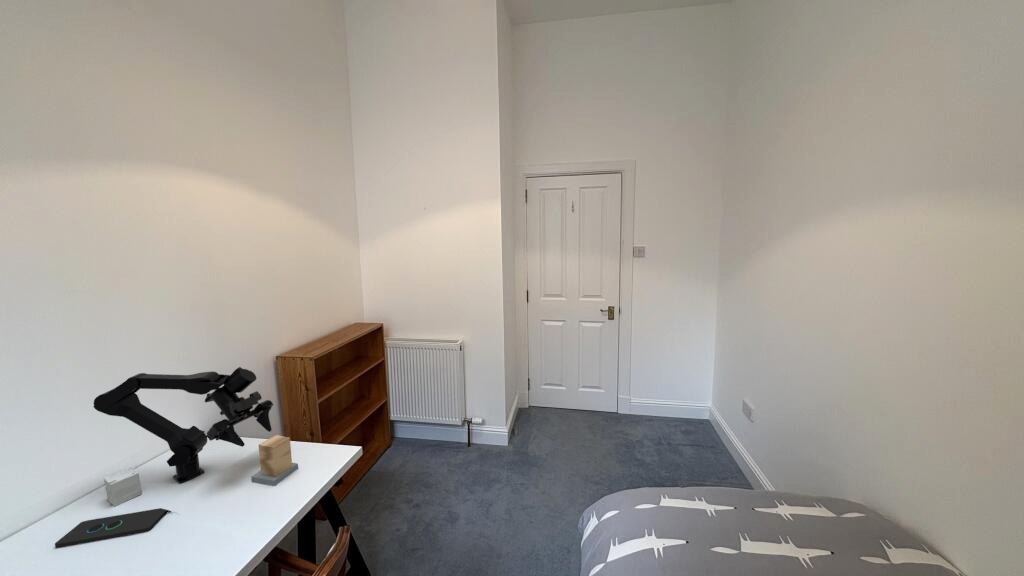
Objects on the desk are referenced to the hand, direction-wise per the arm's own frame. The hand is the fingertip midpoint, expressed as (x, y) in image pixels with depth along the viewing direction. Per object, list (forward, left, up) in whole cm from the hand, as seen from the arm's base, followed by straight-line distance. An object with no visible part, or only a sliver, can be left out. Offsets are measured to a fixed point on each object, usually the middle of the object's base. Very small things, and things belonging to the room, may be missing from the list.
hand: (257, 438), depth 115 cm
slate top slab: (+6, +1, -12) cm, 14 cm away
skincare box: (-26, -26, -13) cm, 39 cm away
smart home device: (-10, -31, -14) cm, 36 cm away
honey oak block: (+7, +2, -10) cm, 12 cm away
